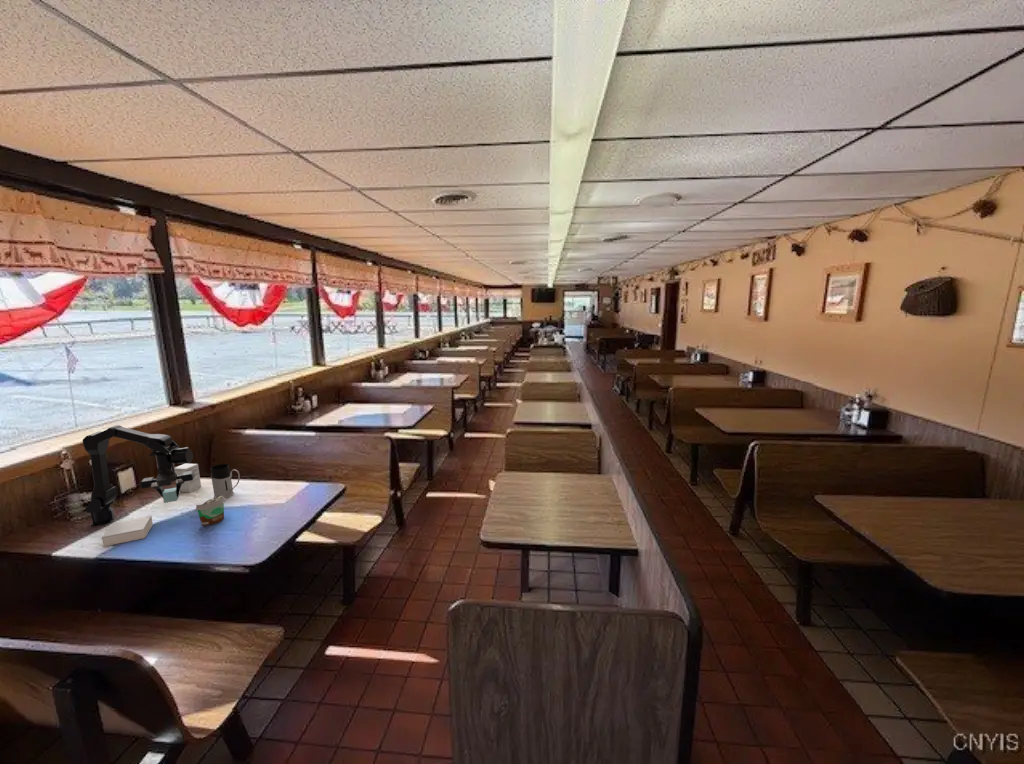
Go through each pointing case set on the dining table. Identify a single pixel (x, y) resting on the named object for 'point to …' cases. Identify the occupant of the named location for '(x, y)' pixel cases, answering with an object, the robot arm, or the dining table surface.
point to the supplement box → (193, 484)
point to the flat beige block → (127, 530)
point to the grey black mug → (222, 480)
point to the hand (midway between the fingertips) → (171, 497)
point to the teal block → (170, 495)
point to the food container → (211, 511)
